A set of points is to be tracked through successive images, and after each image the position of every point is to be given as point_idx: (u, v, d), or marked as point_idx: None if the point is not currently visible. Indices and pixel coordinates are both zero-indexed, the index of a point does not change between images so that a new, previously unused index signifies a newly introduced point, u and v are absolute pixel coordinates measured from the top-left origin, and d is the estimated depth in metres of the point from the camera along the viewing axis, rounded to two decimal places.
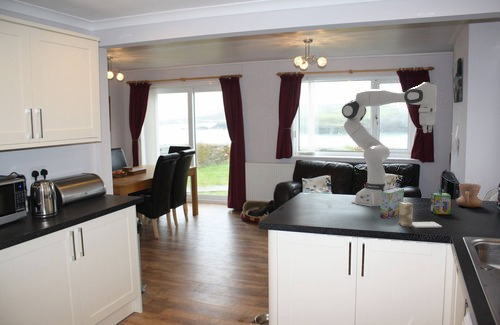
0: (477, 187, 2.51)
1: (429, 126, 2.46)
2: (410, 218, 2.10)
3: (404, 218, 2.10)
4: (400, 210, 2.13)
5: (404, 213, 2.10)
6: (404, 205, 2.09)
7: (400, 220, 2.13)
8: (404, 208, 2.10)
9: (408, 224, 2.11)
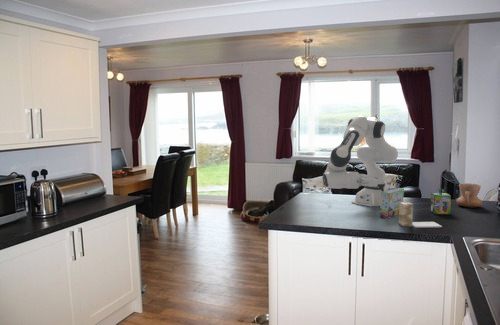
0: (477, 187, 2.51)
1: None
2: (410, 218, 2.10)
3: (404, 218, 2.10)
4: (400, 210, 2.13)
5: (404, 213, 2.10)
6: (404, 205, 2.09)
7: (400, 220, 2.13)
8: (404, 208, 2.10)
9: (408, 224, 2.11)
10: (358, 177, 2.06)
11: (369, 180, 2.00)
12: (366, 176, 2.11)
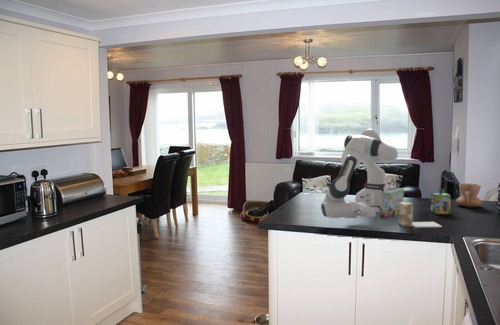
0: (477, 187, 2.51)
1: None
2: (410, 218, 2.10)
3: (404, 218, 2.10)
4: (400, 210, 2.13)
5: (404, 213, 2.10)
6: (404, 205, 2.09)
7: (400, 220, 2.13)
8: (404, 208, 2.10)
9: (408, 224, 2.11)
10: (356, 207, 2.07)
11: (367, 211, 2.02)
12: (364, 205, 2.12)
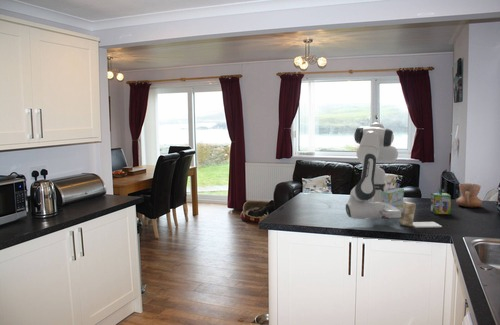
0: (477, 187, 2.51)
1: None
2: (411, 218, 2.10)
3: (405, 217, 2.10)
4: None
5: (406, 212, 2.10)
6: (407, 204, 2.09)
7: (401, 219, 2.13)
8: (406, 207, 2.10)
9: (409, 224, 2.11)
10: (381, 208, 2.08)
11: (392, 212, 2.02)
12: (389, 206, 2.13)
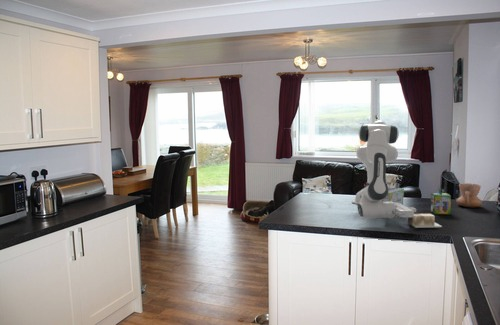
0: (477, 187, 2.51)
1: None
2: (419, 223, 2.11)
3: (420, 217, 2.10)
4: (423, 214, 2.14)
5: (425, 217, 2.10)
6: (433, 217, 2.10)
7: (414, 214, 2.13)
8: (430, 216, 2.10)
9: (413, 222, 2.10)
10: (393, 207, 2.08)
11: (405, 211, 2.02)
12: (401, 206, 2.13)
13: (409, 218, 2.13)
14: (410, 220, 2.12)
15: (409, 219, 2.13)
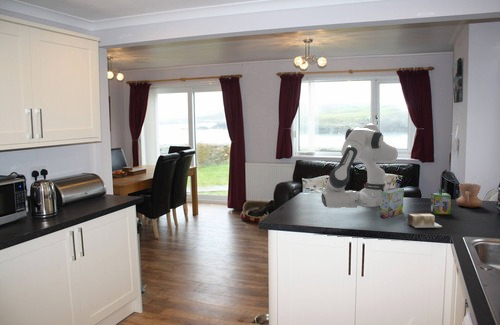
0: (477, 187, 2.51)
1: None
2: (419, 223, 2.11)
3: (420, 217, 2.10)
4: (423, 214, 2.14)
5: (425, 217, 2.10)
6: (433, 217, 2.10)
7: (414, 214, 2.13)
8: (430, 216, 2.10)
9: (413, 222, 2.10)
10: (356, 197, 2.07)
11: (367, 201, 2.02)
12: (364, 195, 2.12)
13: (409, 218, 2.13)
14: (410, 220, 2.12)
15: (409, 219, 2.13)
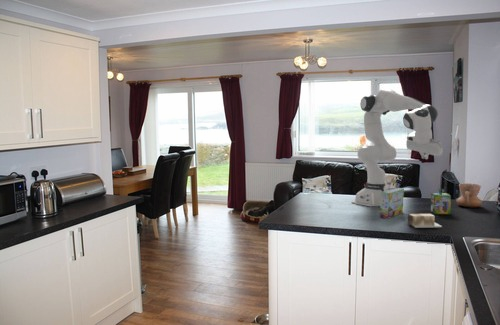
0: (477, 187, 2.51)
1: None
2: (419, 223, 2.11)
3: (420, 217, 2.10)
4: (423, 214, 2.14)
5: (425, 217, 2.10)
6: (433, 217, 2.10)
7: (414, 214, 2.13)
8: (430, 216, 2.10)
9: (413, 222, 2.10)
10: None
11: (441, 147, 2.18)
12: None
13: (409, 218, 2.13)
14: (410, 220, 2.12)
15: (409, 219, 2.13)
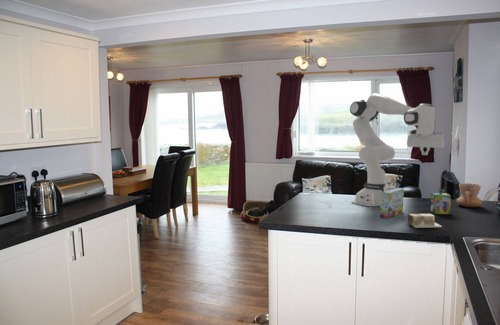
0: (477, 187, 2.51)
1: None
2: (419, 223, 2.11)
3: (420, 217, 2.10)
4: (423, 214, 2.14)
5: (425, 217, 2.10)
6: (433, 217, 2.10)
7: (414, 214, 2.13)
8: (430, 216, 2.10)
9: (413, 222, 2.10)
10: None
11: (443, 139, 2.30)
12: None
13: (409, 218, 2.13)
14: (410, 220, 2.12)
15: (409, 219, 2.13)
